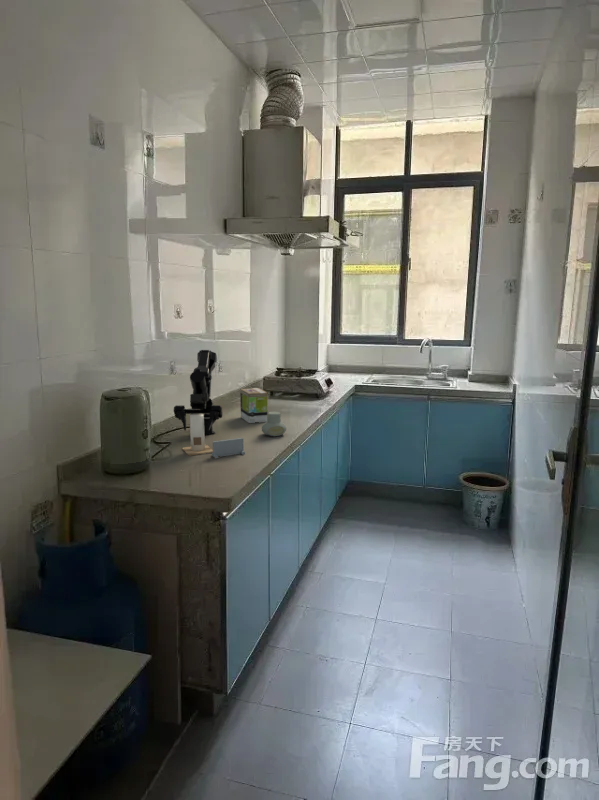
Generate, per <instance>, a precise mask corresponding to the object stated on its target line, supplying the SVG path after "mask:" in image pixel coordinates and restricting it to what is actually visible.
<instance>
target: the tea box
mask: <svg viewBox="0 0 599 800" xmlns="http://www.w3.org/2000/svg"><path fill="white" fill-rule="evenodd" d="M239 393H240V395H239V396H240V398H239V399H240V417H241V419H243V420H244V421H245V422H246V423H248V424H256V423H255V422H259V423H266V422H267V413H268V412H269V411H268V407H269V406H268V404H269V403H268V392H267V391H265V390H263V389H261V388H259V387H253V388H240V391H239Z"/></svg>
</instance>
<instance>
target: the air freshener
mask: <svg viewBox="0 0 599 800" xmlns="http://www.w3.org/2000/svg"><path fill="white" fill-rule="evenodd" d="M281 414H282V413H281V412H280V411H268V413H267V422H263V424H262V425H261V432H262V433H263V434H264V435H266V436H269V437H272V436H277V437H279V436H282V435H284V434H285V433H286V432H287V426H286V424H285V423H284V422H282V420H281V419H282V418H281V416H282V415H281Z"/></svg>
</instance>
